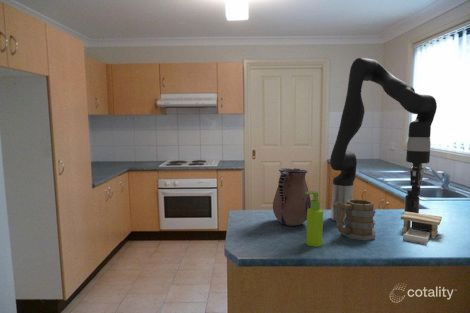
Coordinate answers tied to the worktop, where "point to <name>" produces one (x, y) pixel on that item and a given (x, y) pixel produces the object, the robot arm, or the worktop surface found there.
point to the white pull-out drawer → (416, 236)
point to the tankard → (356, 219)
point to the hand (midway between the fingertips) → (415, 195)
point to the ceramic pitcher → (291, 197)
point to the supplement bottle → (411, 203)
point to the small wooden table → (421, 222)
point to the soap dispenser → (314, 222)
